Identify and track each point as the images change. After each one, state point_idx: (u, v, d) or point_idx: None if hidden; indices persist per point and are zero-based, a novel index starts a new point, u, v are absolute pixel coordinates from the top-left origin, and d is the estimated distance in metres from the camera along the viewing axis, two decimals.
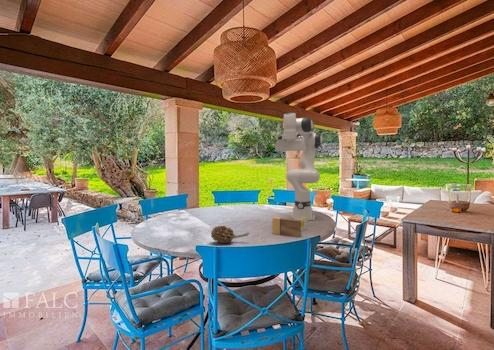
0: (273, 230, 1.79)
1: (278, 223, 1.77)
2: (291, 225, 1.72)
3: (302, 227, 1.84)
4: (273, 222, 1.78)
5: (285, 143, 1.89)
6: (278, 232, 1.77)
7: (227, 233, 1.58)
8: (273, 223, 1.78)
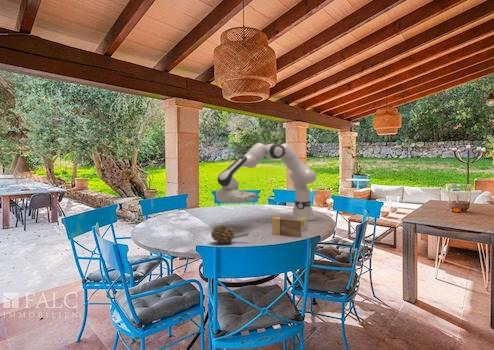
0: (273, 230, 1.79)
1: (278, 223, 1.77)
2: (291, 225, 1.72)
3: (302, 227, 1.84)
4: (273, 222, 1.78)
5: None
6: (278, 232, 1.77)
7: (227, 233, 1.58)
8: (273, 223, 1.78)
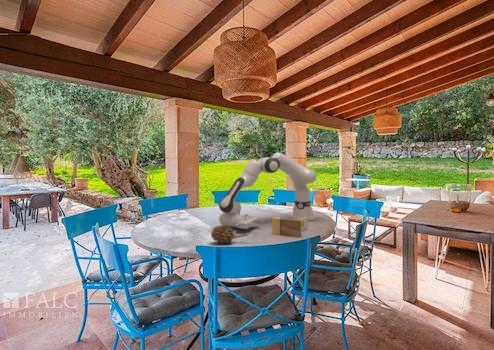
0: (273, 230, 1.79)
1: (278, 223, 1.77)
2: (291, 225, 1.72)
3: (302, 227, 1.84)
4: (273, 222, 1.78)
5: None
6: (278, 232, 1.77)
7: (227, 233, 1.58)
8: (273, 223, 1.78)
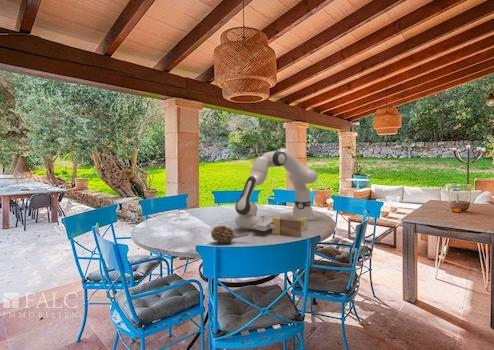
0: (273, 230, 1.79)
1: (278, 223, 1.77)
2: (291, 225, 1.72)
3: (302, 227, 1.84)
4: (273, 222, 1.78)
5: None
6: (278, 232, 1.77)
7: (227, 233, 1.59)
8: (273, 223, 1.78)
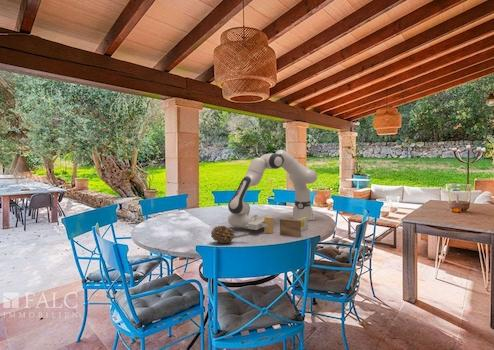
0: (265, 229, 1.81)
1: (270, 222, 1.79)
2: (291, 225, 1.72)
3: (302, 227, 1.84)
4: (265, 221, 1.81)
5: None
6: (270, 231, 1.80)
7: (227, 233, 1.58)
8: (265, 222, 1.81)
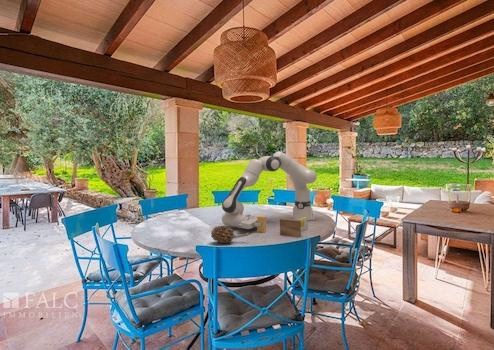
0: (258, 228, 1.83)
1: (263, 221, 1.81)
2: (291, 225, 1.72)
3: (302, 227, 1.84)
4: (258, 220, 1.83)
5: None
6: (263, 230, 1.82)
7: (227, 233, 1.58)
8: (257, 222, 1.83)
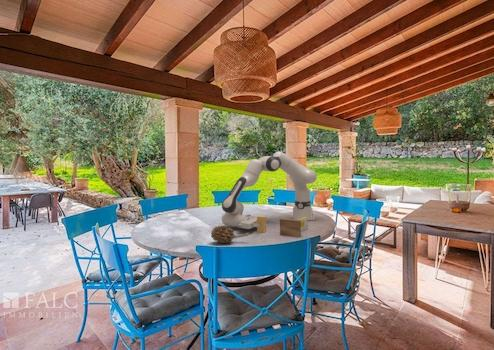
0: (258, 228, 1.83)
1: (262, 221, 1.82)
2: (291, 225, 1.72)
3: (302, 227, 1.84)
4: (258, 220, 1.83)
5: None
6: (262, 230, 1.82)
7: (227, 233, 1.59)
8: (257, 222, 1.83)
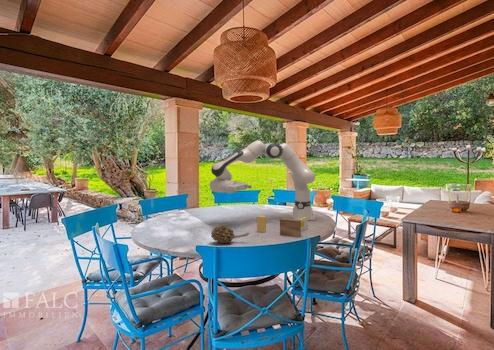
0: (258, 228, 1.83)
1: (262, 221, 1.82)
2: (291, 225, 1.72)
3: (302, 227, 1.84)
4: (258, 220, 1.83)
5: None
6: (262, 230, 1.82)
7: (227, 233, 1.59)
8: (257, 222, 1.83)
